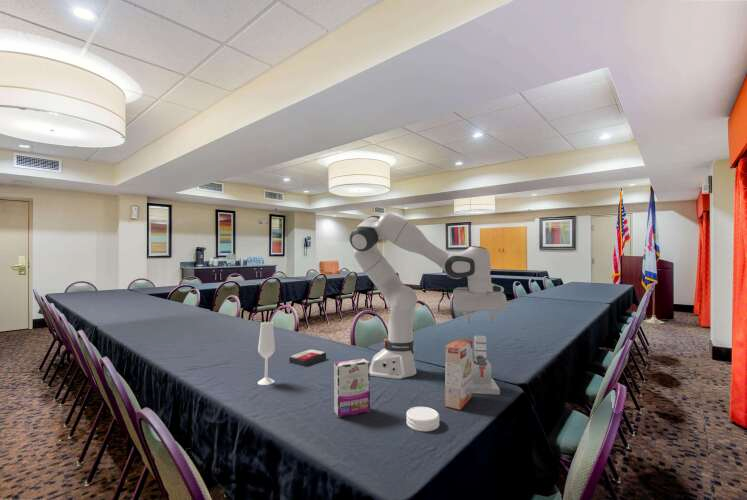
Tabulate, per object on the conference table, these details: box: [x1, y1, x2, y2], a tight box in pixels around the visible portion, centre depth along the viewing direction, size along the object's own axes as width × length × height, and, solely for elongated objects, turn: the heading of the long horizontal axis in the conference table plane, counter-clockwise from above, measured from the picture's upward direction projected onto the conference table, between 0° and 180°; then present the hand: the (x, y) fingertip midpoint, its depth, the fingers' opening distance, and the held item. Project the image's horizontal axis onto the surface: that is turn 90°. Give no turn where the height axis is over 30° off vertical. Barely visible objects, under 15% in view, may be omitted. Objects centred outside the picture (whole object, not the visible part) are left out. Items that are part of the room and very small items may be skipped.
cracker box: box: [444, 338, 474, 411], centre depth 121 cm, size 14×6×21 cm, turn 148°
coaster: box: [405, 406, 440, 432], centre depth 105 cm, size 10×10×4 cm
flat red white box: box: [288, 349, 327, 367], centre depth 171 cm, size 11×4×15 cm
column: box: [473, 335, 488, 364], centre depth 135 cm, size 4×4×20 cm
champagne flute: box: [257, 321, 276, 386], centre depth 141 cm, size 7×7×24 cm
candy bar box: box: [333, 358, 371, 418], centre depth 113 cm, size 11×5×16 cm, turn 113°
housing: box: [472, 358, 501, 396], centre depth 135 cm, size 12×12×12 cm
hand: (480, 322), depth 135 cm, fingers open, 8 cm apart
